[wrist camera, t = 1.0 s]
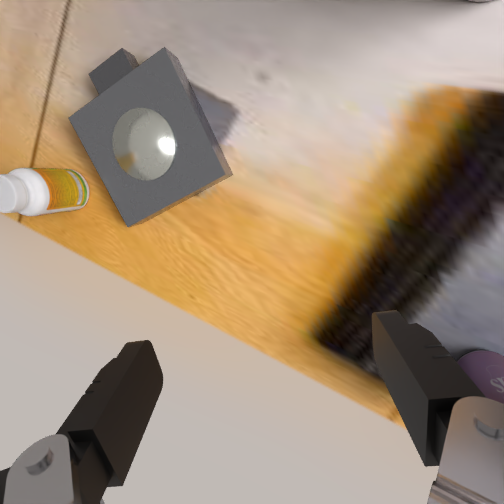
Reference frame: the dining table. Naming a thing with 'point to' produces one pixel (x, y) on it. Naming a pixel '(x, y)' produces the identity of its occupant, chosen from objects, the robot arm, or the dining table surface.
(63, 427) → the robot arm
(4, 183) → the supplement bottle
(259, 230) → the dining table surface
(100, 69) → the grey coaster with tab
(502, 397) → the beverage can
